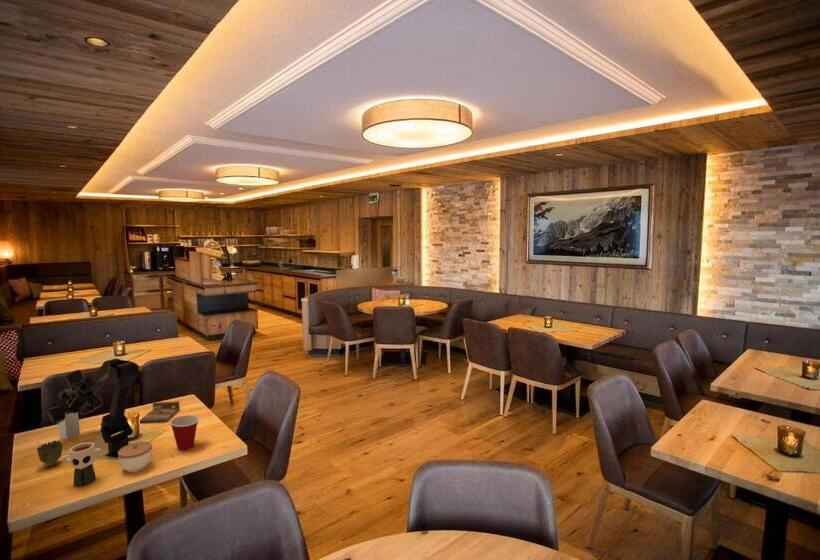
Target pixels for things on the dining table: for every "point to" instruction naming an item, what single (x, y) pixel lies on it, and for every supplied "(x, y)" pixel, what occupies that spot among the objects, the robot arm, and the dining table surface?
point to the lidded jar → (135, 456)
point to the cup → (50, 453)
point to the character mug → (82, 462)
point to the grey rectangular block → (69, 426)
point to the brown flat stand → (161, 412)
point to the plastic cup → (184, 431)
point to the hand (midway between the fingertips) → (69, 418)
